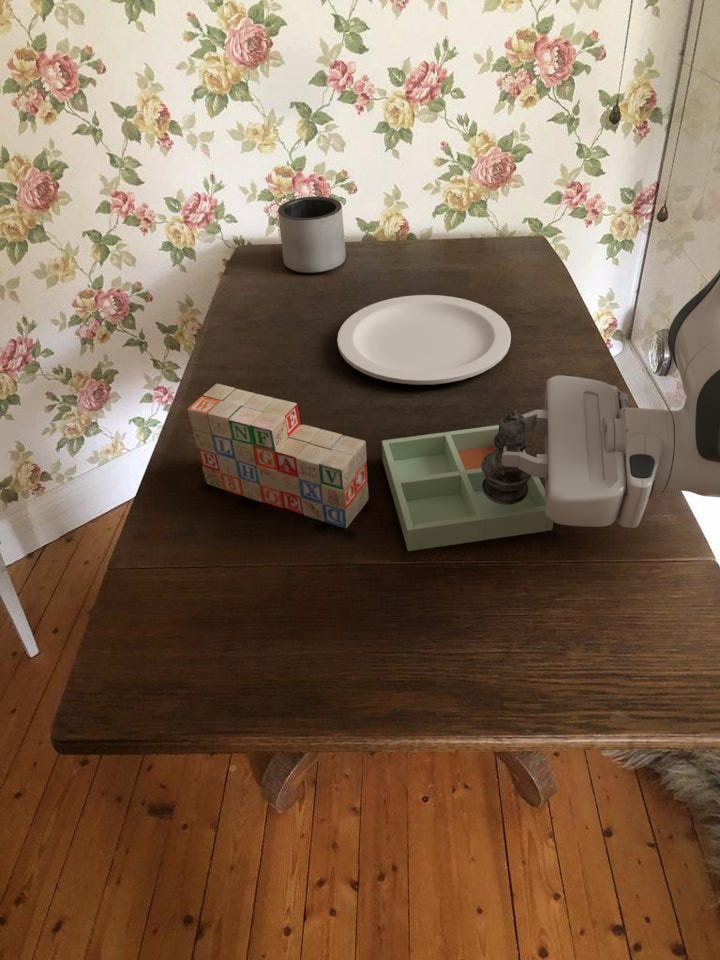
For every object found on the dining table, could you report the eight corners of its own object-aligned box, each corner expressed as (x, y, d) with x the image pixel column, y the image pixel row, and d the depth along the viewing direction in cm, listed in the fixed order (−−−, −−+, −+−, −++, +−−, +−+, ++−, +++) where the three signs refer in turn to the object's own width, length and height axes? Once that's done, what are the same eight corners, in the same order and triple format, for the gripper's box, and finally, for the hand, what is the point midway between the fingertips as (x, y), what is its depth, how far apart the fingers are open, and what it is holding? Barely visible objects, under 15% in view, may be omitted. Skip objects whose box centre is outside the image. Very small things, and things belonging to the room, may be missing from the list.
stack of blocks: (370, 499, 95) (365, 419, 87) (346, 530, 91) (339, 450, 83) (232, 457, 103) (216, 381, 95) (204, 484, 99) (185, 406, 91)
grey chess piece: (505, 462, 90) (514, 384, 82) (541, 490, 87) (555, 411, 78) (469, 485, 88) (474, 407, 79) (504, 514, 85) (514, 436, 76)
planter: (300, 281, 145) (294, 224, 138) (274, 259, 154) (266, 205, 146) (357, 265, 149) (354, 209, 142) (328, 244, 158) (324, 191, 151)
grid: (508, 443, 102) (510, 423, 100) (552, 530, 89) (555, 508, 87) (382, 460, 101) (381, 440, 99) (407, 551, 88) (407, 530, 85)
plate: (305, 344, 126) (303, 331, 125) (430, 292, 138) (430, 280, 137) (413, 415, 108) (413, 402, 107) (546, 348, 121) (548, 335, 119)
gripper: (632, 366, 85) (507, 359, 87) (650, 498, 71) (502, 486, 73) (621, 408, 89) (503, 401, 92) (636, 540, 75) (497, 528, 78)
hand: (502, 440), depth 82 cm, fingers closed on grey chess piece, 3 cm apart
